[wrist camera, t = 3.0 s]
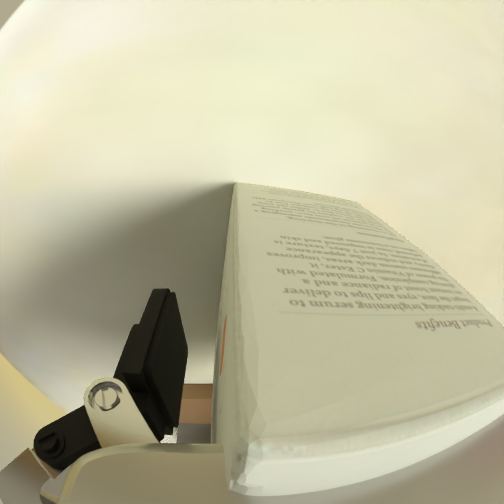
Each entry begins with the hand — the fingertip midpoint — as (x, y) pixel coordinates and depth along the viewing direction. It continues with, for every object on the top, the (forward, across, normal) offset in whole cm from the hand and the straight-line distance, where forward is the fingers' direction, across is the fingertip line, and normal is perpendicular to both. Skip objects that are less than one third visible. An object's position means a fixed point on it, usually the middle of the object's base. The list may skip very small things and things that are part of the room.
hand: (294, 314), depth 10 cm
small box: (+4, 0, 0) cm, 4 cm away
